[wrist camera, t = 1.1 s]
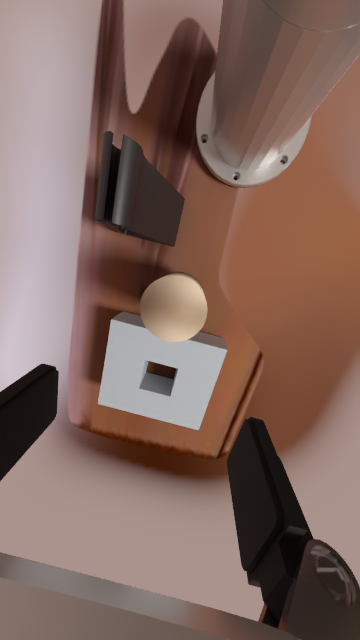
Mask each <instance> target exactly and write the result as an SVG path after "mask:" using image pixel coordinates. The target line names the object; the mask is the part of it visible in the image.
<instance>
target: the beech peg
mask: <svg viewBox="0 0 360 640" xmlns="http://www.w3.org/2000/svg"><path fill="white" fill-rule="evenodd" d="M140 315H141V319H142V321H143V323H144V325H145V327H146V328H147V329H148V330H149V332H150V333H152V334H153V335H154V336H156V337H157V338H159V339H161V340H164V341H168V342H181V341H185V340H187V339H190V338H191V337H193V336H194V335H196V334H197V333H198V332H199V331H200V330H201V328H202V327H203V325H204V323H205V321H206V317H207V302H206V299H205V296H204V291H203V288H202V286H201V284H200V283H199V281H198V280H197V279H196V278H195V277H193V276H192V275H190V274H187V273H184V272H174V273H170V274H168V275H166V276H164V277H162V278H160V279H158V280H156V281H154V282H153V283H151V284H150V285H149V286H148V287H147V289H146V290H145V291H144V293H143V295H142V298H141V301H140Z"/></svg>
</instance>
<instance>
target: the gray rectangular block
mask: <svg viewBox="0 0 360 640" xmlns="http://www.w3.org/2000/svg"><path fill="white" fill-rule="evenodd" d="M226 352H227V348H226V345H225V342H224V340H223V338H222V337H218V336H214V335H211V334H207V333H203V332H198V333H197V334H196V335H194V336H193V337H191V338H190V339H187V340H185V341H181V342H168V341H164V340H161V339H159V338H157V337H156V336H154V335H153V334H152V333H150V332H149V330H148V329H147V328H146V327H145V325H144V323H143V321H142V319H141V316H139V315H135V314H131V313H128V312H124V311H123V312H121V313H120V314H118V315H117V316H115V317H114V318H112V319H111V324H110V330H109V337H108V343H107V349H106V356H105V362H104V368H103V375H102V381H101V387H100V394H99V400H98V404H101V405H104V406H108V407H112V408H116V409H120V410H123V411H127V412H131V413H135V414H139V415H142V416H146V417H150V418H154V419H158V420H161V421H165V422H169V423H173V424H177V425H180V426H184V427H188V428H192V429H195V430H199V428H200V425H201V422H202V419H203V417H204V414H205V411H206V408H207V405H208V403H209V400H210V397H211V394H212V391H213V389H214V386H215V383H216V380H217V378H218V375H219V372H220V369H221V366H222V364H223V361H224V358H225V355H226ZM148 361H151V362H155V363H159V364H162V365H166V366H170V367H174V368H177V369H176V372H175V376H174V379H170V378H167V377H163V376H159V375H155V374H152V373H148V372H146V370H147V366H148Z"/></svg>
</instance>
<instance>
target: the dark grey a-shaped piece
mask: <svg viewBox="0 0 360 640" xmlns="http://www.w3.org/2000/svg"><path fill="white" fill-rule="evenodd" d="M112 142H113V133H112V132H111V131H107V132H105V133H104V138H103V147H102V156H101V165H100V175H99V184H98V193H97V203H96V212H95V220H97V221H100V222H102V223H105V224H106V225H107V226H108V227H109V229H110V230H112V231H115V232H119V233H123V234H127V235H131V236H135V237H138V238H143V239H146V240H150V241H154V242H158V243H162V244H165V245H169V246H173V247H174V245H175V240H176V236H177V231H178V227H179V222H180V218H181V214H182V209H183V205H184V200H185V198H184V197H183V196H182V195H181V194H180V193H179V192H178V191H177V190H176V189H175V188H174V187H173V186H172V185H171V184H170V183H169V182H168V181H167V180H166V179H165V178H164V177H163V176H162V175H161V174H160V173H159V172H158V171H157V170H156V169H155V168H154V167H153V166H152V165H151V164H150V163H149V162H148V161H147V159H146V158H145V156H144V154H143V150H142V148H141V147H140V145H139V144H138V143H137V142H135V141H134V140H133V139H131V138H129V137H127V136H125V135H123V140H122V147H121V150H120V149H118V148H117V147H115V146H114V145H113V144H112Z"/></svg>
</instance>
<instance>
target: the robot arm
mask: <svg viewBox="0 0 360 640" xmlns="http://www.w3.org/2000/svg"><path fill="white" fill-rule="evenodd" d="M359 55H360V0H223V7H222V16H221V25H220V34H219V43H218V52H217V61H216V70H215V72H214V73H213V74H212V76H211V77H210V79H209V80H208V82H207V84H206V86H205V88H204V90H203V93H202V96H201V99H200V102H199V105H198V112H197V119H196V135H197V144H198V148H199V152H200V155H201V157H202V159H203V161H204V164H205V165H206V166H207V168H208V169H209V171H210V172H211V173H212V174H213V175H214V176H215V177H216V178H217V179H218V180H220V181H222V182H223V183H225V184H227V185H230V186H233V187H239V188H250V187H256V186H259V185H262V184H265V183H267V182H269V181H270V180H272V179H274V178H275V177H276V176H278V175H279V174H280V173H281V172H283V171H284V170H285V169H286V168H287V167H288V166H289V164H290V163H291V162H292V161H293V159H294V158H295V157H296V155H297V154H298V153H299V151H300V149H301V147H302V145H303V143H304V141H305V138H306V136H307V133H308V130H309V126H310V121H311V116H312V114H313V113H314V111H315V110H316V109H317V108H318V106H319V105H320V104H321V103H322V101H323V100H324V99H325V98H326V96H327V95H328V94H329V93H330V91H331V90H332V89H333V87H334V86H335V85H336V83H337V82H338V81H339V80H340V79H341V77H342V76H343V75H344V73H345V72H346V71H347V70H348V68H349V67H350V66H351V65H352V63H353V62H354V61H355V60H356V58H357V57H358V56H359ZM203 141H206V143H202V142H203ZM281 161H282V162H283V164H281ZM234 177H236V178H237V180H236V181H235V180H234V179H233V178H234ZM57 395H58V371H57V370H56V367H54V366H50V365H46V364H41V365H39V366H37V367H36V368H34V369H33V370H32V371H30V372H29V373H27V374H26V375H24V376H23V377H21V378H20V379H19V380H17V381H16V382H14V383H13V384H11V385H10V386H8V387H7V388H5V389H4V390H2V391H1V392H0V481H1V480H2V479H3V477H4V476H5V475H6V474H7V473H8V472H9V471H10V469H11V468H12V467H13V466H14V465H15V464H16V462H17V461H18V460H19V459H20V458H21V457H22V456H23V455H24V453H25V452H26V451H27V450H28V449H29V448H30V446H31V445H32V444H33V443H34V442H35V441H36V440H37V439H38V438H39V436H40V435H41V434H42V433H43V432H44V431H45V429H46V428H47V427H48V426H49V425H50V424H51V423H52V421H53V420H54V419H55V417H56V414H57ZM227 468H228V474H229V482H230V488H231V495H232V502H233V509H234V516H235V523H236V530H237V536H238V543H239V549H240V550H239V551H240V557H241V563H242V567H243V569H244V571H247V577H248V583H249V585H253V586H257V587H261V592H262V597H263V601H264V606H263V609H262V612H261V615H260V618H259V621H258V622H257V621H254V620H251V619H247V618H244V617H240V616H237V615H234V614H230V613H227V612H223V611H220V610H217V609H213V608H210V607H206V606H202V605H198V604H195V603H191V602H187V601H184V600H180V599H176V598H173V597H169V596H165V595H161V594H158V593H153V592H150V591H147V590H143V589H139V588H135V587H131V586H128V585H124V584H120V583H116V582H112V581H109V580H105V579H101V578H97V577H93V576H89V575H86V574H82V573H78V572H74V571H70V570H67V569H63V568H59V567H55V566H51V565H47V564H44V563H40V562H36V561H32V560H28V559H24V558H20V557H16V556H12V555H8V554H4V553H0V640H360V587H359V584H358V582H357V580H356V578H355V576H354V575H353V572H352V571H351V569H350V568H349V566H348V565H347V563H346V562H345V561H344V559H343V558H342V557H341V556H340V555H339V554H338V553H337V552H336V551H335V550H334V549H333V548H332V547H330V546H329V545H328V544H327V543H325V542H323V541H321V540H318V539H313V536H312V534H311V532H310V529H309V527H308V524H307V522H306V520H305V517H304V515H303V513H302V510H301V507H300V505H299V503H298V500H297V498H296V495H295V493H294V491H293V488H292V486H291V483H290V481H289V478H288V476H287V474H286V471H285V469H284V466H283V464H282V462H281V460H280V458H279V457H278V456H277V453H276V451H275V448H274V446H273V443H272V441H271V438H270V436H269V434H268V431H267V429H266V426H265V424H264V422H263V420H260V419H256V418H252V417H250V418H249V419H248V420H247V419H245V421H244V423H243V425H242V427H241V429H240V432H239V434H238V436H237V438H236V441H235V443H234V445H233V448H232V450H231V452H230V454H229V457H228V460H227Z"/></svg>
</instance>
